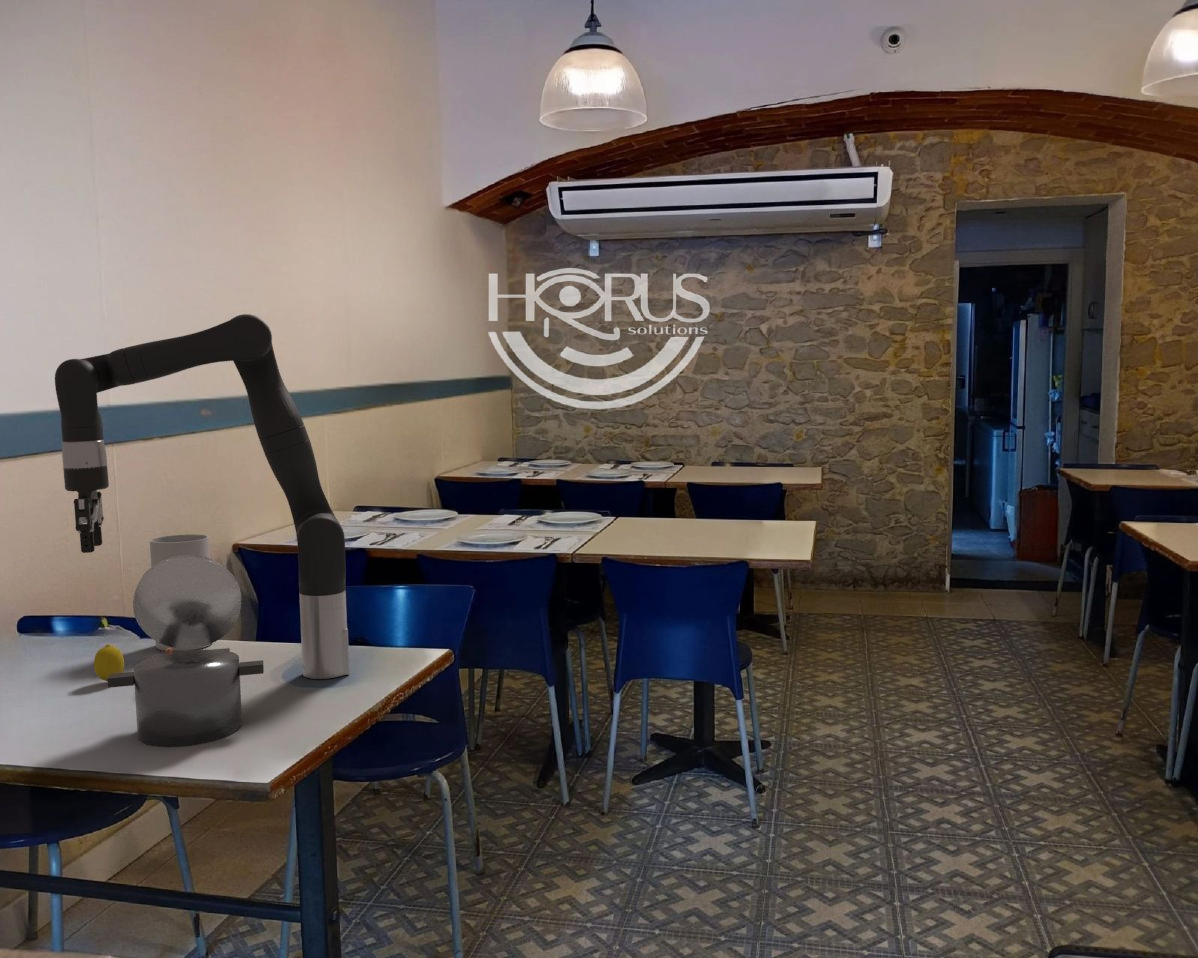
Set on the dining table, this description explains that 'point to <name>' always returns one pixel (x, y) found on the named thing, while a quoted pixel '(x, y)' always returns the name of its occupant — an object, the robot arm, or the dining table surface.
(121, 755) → the dining table surface
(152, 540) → the cylinder vase
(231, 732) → the cooker pot
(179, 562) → the cooker lid
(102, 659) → the lemon
